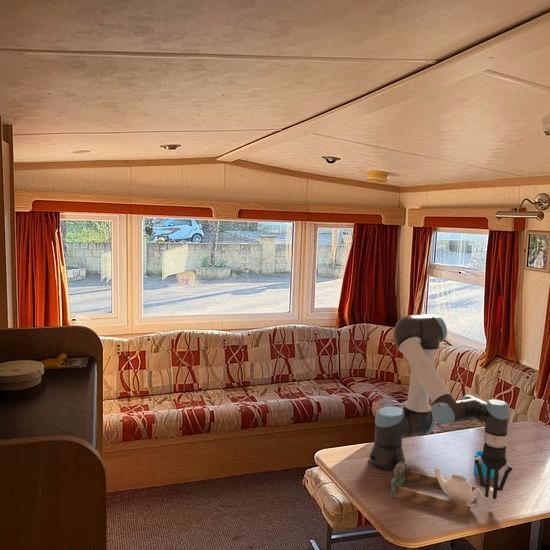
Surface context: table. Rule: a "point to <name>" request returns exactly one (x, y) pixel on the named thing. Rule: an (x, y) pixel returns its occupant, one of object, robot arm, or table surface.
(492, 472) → the mug
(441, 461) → the table surface
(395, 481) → the bay
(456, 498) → the teapot
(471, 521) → the table surface
